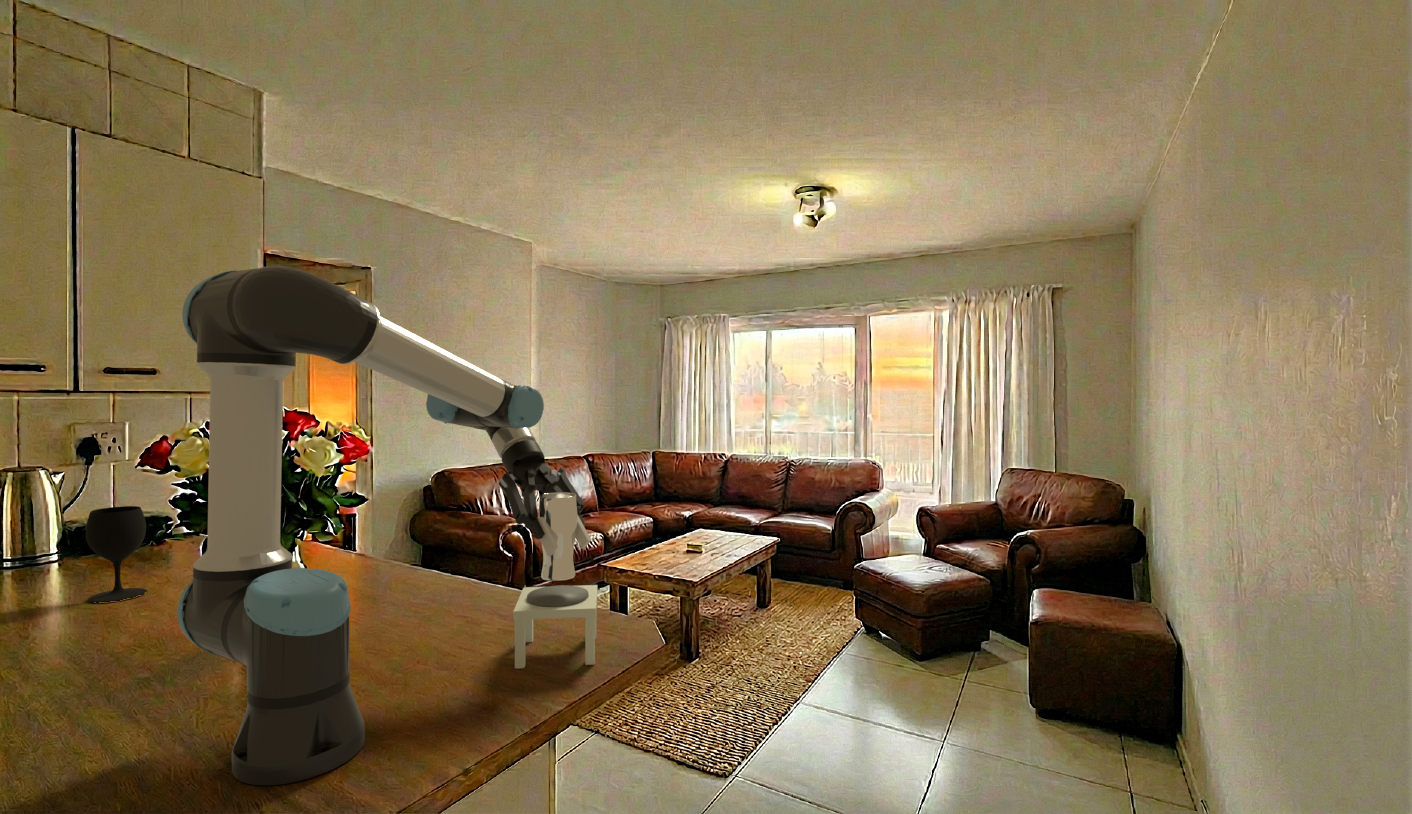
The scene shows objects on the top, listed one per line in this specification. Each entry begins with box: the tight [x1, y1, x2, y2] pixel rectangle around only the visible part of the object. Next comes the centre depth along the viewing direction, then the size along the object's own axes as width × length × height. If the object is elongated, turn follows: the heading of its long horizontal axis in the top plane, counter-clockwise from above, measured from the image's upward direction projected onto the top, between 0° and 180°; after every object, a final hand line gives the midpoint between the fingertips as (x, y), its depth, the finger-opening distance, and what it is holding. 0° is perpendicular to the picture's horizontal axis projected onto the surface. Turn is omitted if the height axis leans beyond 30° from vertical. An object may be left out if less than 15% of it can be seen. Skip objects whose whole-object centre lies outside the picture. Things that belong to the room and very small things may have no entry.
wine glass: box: [85, 505, 148, 604], centre depth 155 cm, size 10×10×20 cm
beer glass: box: [537, 492, 577, 582], centre depth 125 cm, size 7×7×15 cm
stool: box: [512, 584, 598, 669], centre depth 125 cm, size 14×14×11 cm
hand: (570, 547), depth 122 cm, fingers closed on beer glass, 7 cm apart
